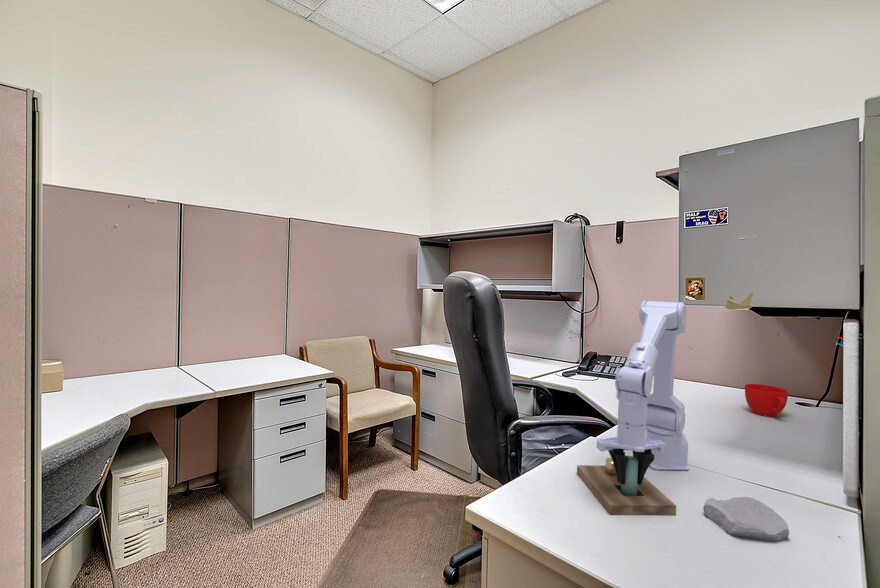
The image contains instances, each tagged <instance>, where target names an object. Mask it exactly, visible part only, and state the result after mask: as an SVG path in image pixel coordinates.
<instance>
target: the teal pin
mask: <svg viewBox="0 0 880 588" xmlns="http://www.w3.org/2000/svg"><path fill="white" fill-rule="evenodd" d="M626 456H627V457H628V458H629V459H628V462H627V466H626V475H625V484H621V493H622V494H623V496H637V480H638V459H637V458H635V457H633V455H626Z"/></svg>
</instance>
